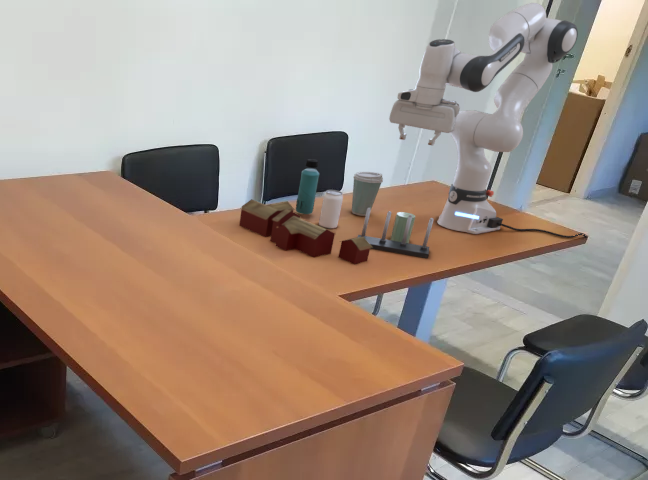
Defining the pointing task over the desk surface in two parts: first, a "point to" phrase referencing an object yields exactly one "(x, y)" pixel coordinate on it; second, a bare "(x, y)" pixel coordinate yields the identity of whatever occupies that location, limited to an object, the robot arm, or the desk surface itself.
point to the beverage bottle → (307, 188)
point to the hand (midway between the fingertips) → (416, 142)
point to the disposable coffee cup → (365, 191)
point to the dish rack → (395, 245)
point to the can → (331, 209)
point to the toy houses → (298, 232)
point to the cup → (402, 227)
